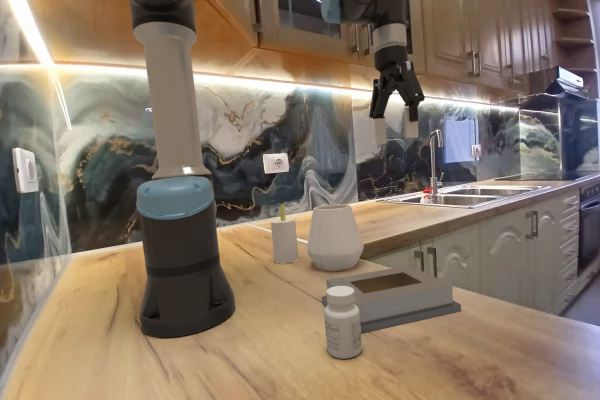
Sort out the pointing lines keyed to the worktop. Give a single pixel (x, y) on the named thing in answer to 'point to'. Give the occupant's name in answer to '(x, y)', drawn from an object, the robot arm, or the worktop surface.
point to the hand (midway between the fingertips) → (395, 141)
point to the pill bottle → (342, 323)
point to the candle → (284, 239)
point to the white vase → (334, 238)
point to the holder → (397, 296)
